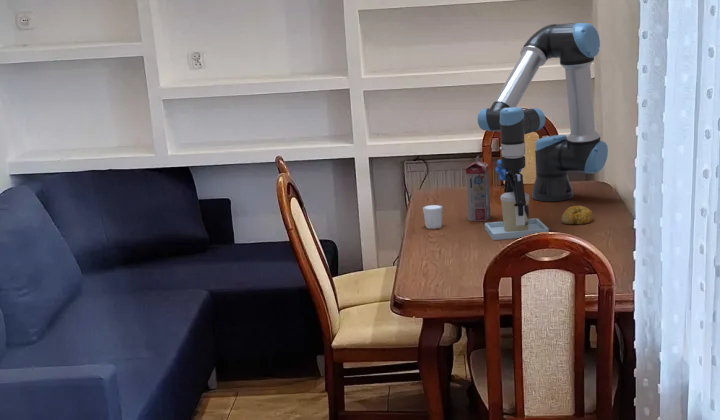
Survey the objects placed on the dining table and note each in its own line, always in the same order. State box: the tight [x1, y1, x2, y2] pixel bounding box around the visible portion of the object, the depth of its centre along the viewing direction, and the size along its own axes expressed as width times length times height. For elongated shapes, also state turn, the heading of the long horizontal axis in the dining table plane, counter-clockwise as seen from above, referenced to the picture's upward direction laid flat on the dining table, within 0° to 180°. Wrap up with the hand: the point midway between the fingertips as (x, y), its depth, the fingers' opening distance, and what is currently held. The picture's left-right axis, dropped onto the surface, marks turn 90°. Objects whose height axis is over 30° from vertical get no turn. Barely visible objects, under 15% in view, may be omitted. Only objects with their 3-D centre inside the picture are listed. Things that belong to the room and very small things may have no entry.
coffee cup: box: [500, 192, 530, 232], centre depth 277 cm, size 9×9×12 cm
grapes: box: [494, 159, 523, 182], centre depth 344 cm, size 12×7×12 cm, turn 57°
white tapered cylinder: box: [422, 204, 443, 230], centre depth 293 cm, size 7×7×7 cm
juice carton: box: [465, 155, 491, 222], centre depth 297 cm, size 7×7×22 cm
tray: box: [484, 218, 550, 241], centre depth 279 cm, size 18×14×2 cm
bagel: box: [561, 205, 594, 225], centre depth 285 cm, size 10×11×5 cm
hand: (515, 220), depth 278 cm, fingers open, 13 cm apart
